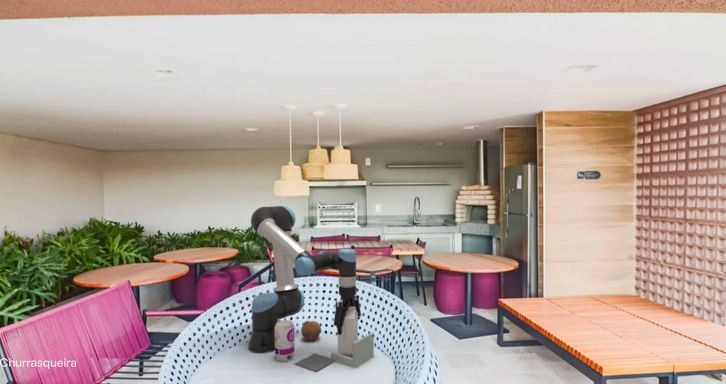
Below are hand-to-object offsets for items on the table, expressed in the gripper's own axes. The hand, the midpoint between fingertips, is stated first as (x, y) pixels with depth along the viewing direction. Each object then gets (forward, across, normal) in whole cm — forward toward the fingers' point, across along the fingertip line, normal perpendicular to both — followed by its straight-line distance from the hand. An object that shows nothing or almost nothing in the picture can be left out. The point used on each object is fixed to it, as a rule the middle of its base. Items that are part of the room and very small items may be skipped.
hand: (347, 337), depth 163 cm
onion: (+9, +6, +27) cm, 29 cm away
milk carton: (+6, 0, 0) cm, 6 cm away
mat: (+8, -12, +8) cm, 17 cm away
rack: (+8, 0, -2) cm, 9 cm away
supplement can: (+9, -16, +22) cm, 28 cm away
